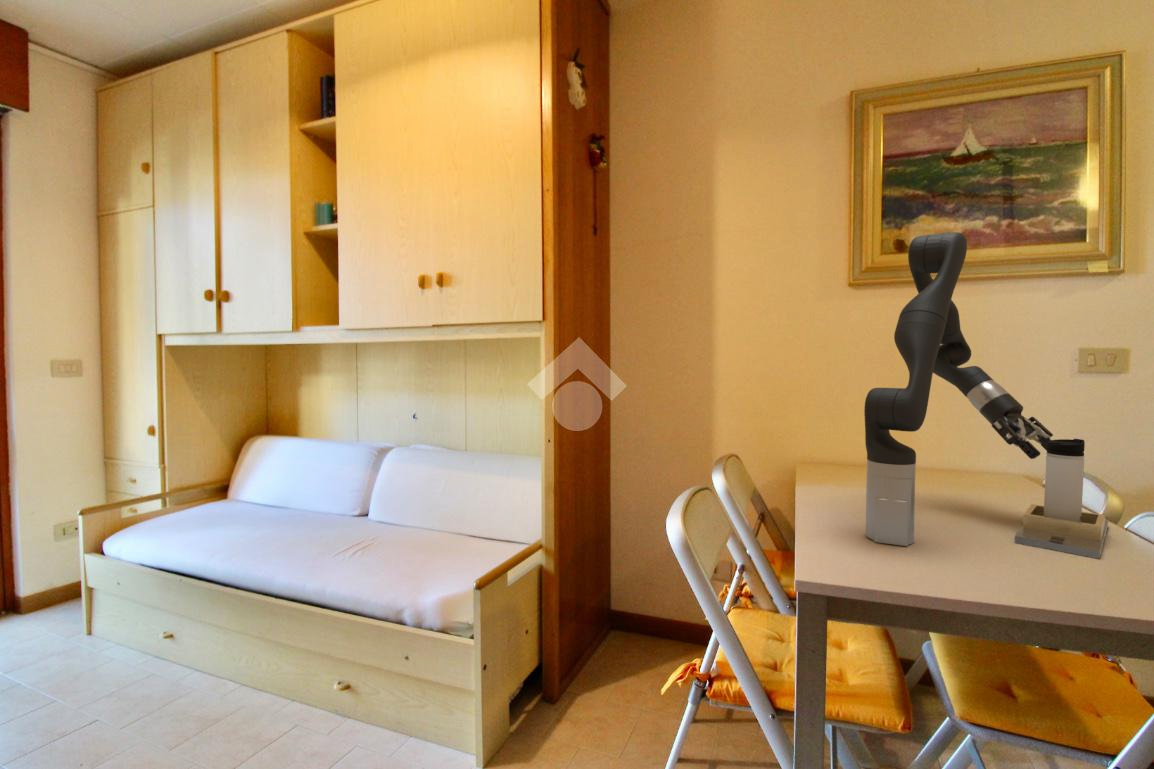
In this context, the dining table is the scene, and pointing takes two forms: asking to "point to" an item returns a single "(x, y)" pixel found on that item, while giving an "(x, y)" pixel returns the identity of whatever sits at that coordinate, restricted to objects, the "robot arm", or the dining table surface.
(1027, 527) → the open tray on base
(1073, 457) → the travel mug
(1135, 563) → the dining table surface
